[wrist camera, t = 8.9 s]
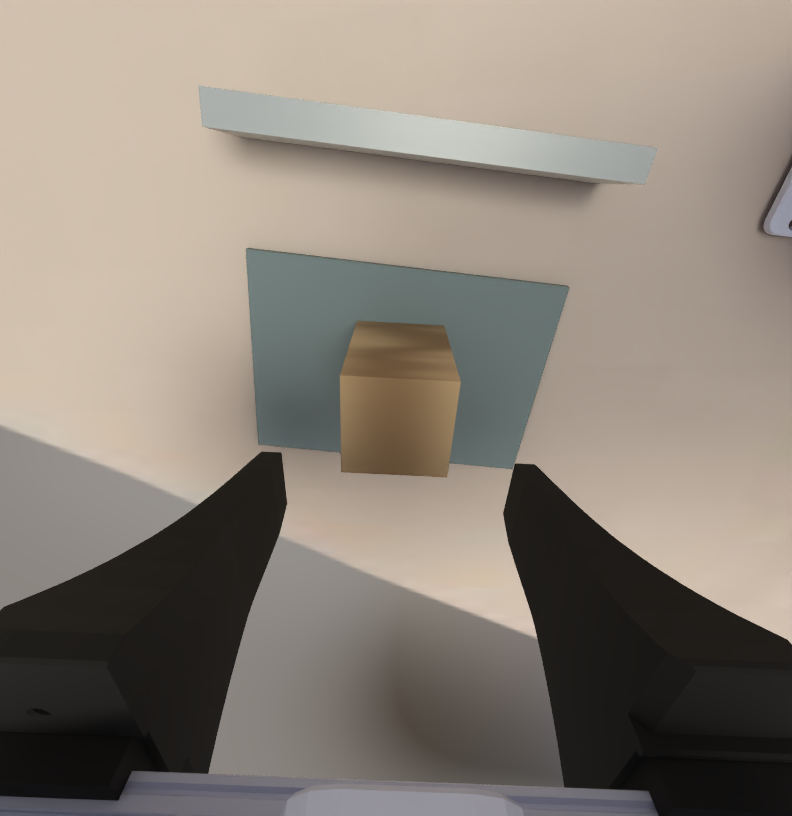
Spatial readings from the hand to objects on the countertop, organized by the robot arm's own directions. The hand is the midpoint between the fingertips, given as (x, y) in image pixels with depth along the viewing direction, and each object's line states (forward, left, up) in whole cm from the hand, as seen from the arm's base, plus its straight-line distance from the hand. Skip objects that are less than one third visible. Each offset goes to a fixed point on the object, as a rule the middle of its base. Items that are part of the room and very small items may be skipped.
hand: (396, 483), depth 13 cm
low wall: (0, -9, -9) cm, 13 cm away
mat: (0, 0, -9) cm, 9 cm away
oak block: (0, 0, -8) cm, 8 cm away
